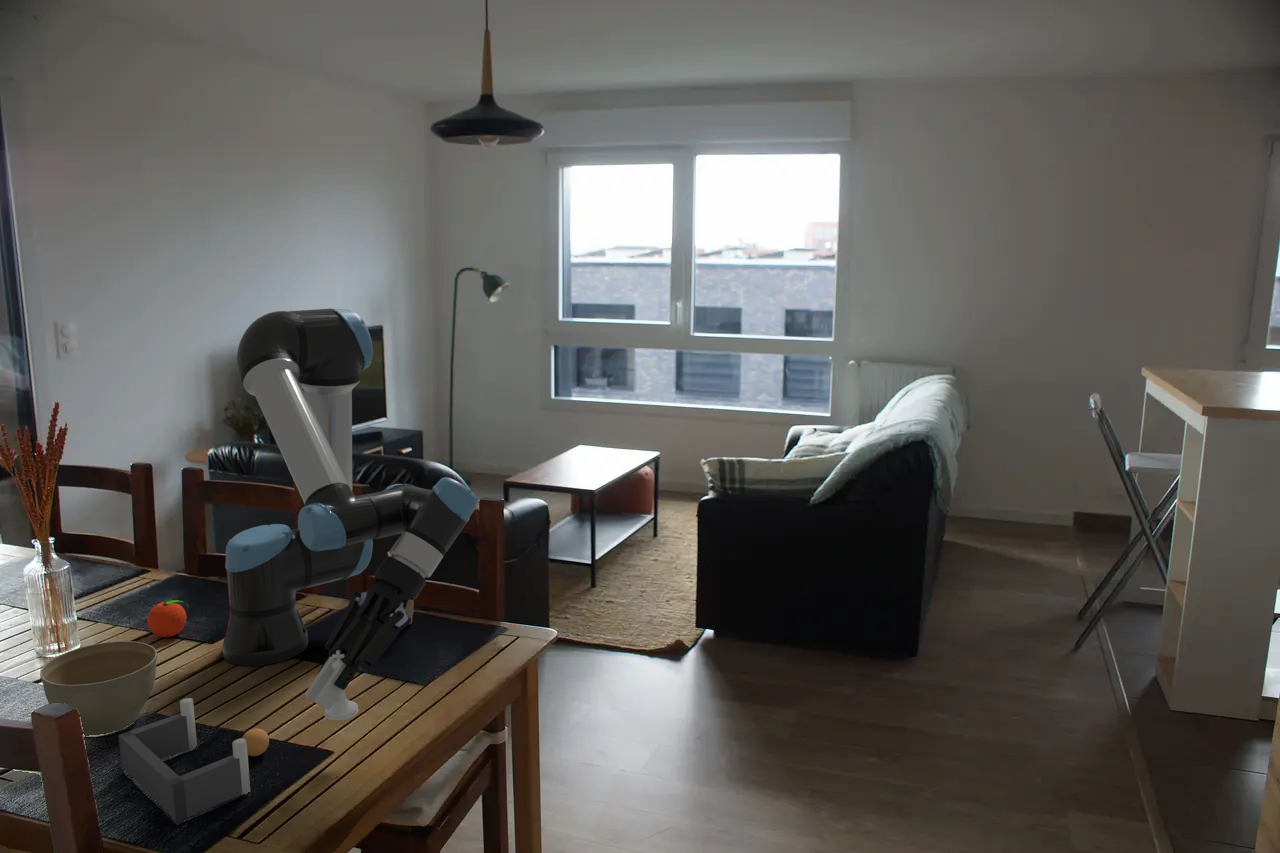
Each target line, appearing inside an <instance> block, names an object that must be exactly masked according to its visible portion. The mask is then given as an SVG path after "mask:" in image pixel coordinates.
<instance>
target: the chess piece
mask: <svg viewBox="0 0 1280 853" xmlns="http://www.w3.org/2000/svg"><path fill="white" fill-rule="evenodd" d="M332 658H337V661H334V662H333V663H332V667H333V669H334V671H335V669H336V668H337V666H338V665H339V663H340V662H341V663H343V662H342V660H340V658H344V654H340V650H337V651H336V654H333V655H332ZM343 664H344V663H343ZM345 665H346V664H345ZM358 713H359V705H358V703H356V702H355V701H353V700H349V699H347V694H346V688H345V689H344V690H342V692H341V693H340V695H339V696H338V698H337V699H336V701H335V702H334V704H333V705H332V707H331V708H330V710H327V709H325V708H324V713H323V715H324V718H325V719H328V720H329V721H344V720H348V719H351V718H353V717H355V716H356V715H357V714H358Z"/></svg>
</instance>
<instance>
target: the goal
mask: <svg viewBox="0 0 1280 853" xmlns="http://www.w3.org/2000/svg"><path fill="white" fill-rule="evenodd" d="M179 707H180V713H177V714H174V715H171V716H168V717H166V718H163V719H159V720H157V721H155V722H152V723H148V724H146V725H143V726H140V727H137V728H134V729H131V730H129V731H126V732H123V733H120V734H118V744H119V745H118V746H119V753H120V762H121V768H122V767H123V768H124V769H125V770H126V771H127V772H128V773H129V774H130V775H131V776H132V777H133V778H134V779H135V780H136V781H137V782H138V784H140V785H141V787H143V789H145V790H146V791H147V792H148V793H149V794H150V795H151V796H152V797H153V798H154V799H155V800H156V801H157V802H158V803H159V804H160V805H161V806H162V807H163V809H164V810H165V811H166V812H167V813H168V814H169V815H170V816H171V818H172V819H173V820H174V821H175V822H177V821H180V820H182V819H185V818H187V817H190V816H192V815H195V814H197V813H198V812H199V811H203V810H205V809H206V808H210V807H211V806H215V805H216V804H219V803H222V802H224V801H227V800H230V799H233V798H234V797H238V796H240V795H243V794H247V793H248V792H250V793H251V785H250V784H251V783H250V770H249V755H247V743H246V739H242V738H237V739H235V740H233V741H232V743H231V744H232V755H230V756H228V757H225V758H222V759H220V760H217V761H215V762H211V763H209V764H207V765H205V766H202V767H199V768H197V769H194V770H192V771H190V772H187V773H185V774H182V775H179V774H177V773H176V771H174V770H173V769H171V767H170V766H168V765H167V764H166V763H165V762H163V761H162V760H161V759H162V758H164V757H168V756H172V755H175V754H177V753H180V752H183V751H186V750H188V749H193V748H195V747H196V746H197V747H198V742H197V740H198V739H197V730H196V721H195V720H196V718H195V707H194V698H192V697H191V698H190V697H188V698H187V697H186V698H183V699H180V701H179Z"/></svg>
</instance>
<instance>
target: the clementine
mask: <svg viewBox="0 0 1280 853" xmlns="http://www.w3.org/2000/svg"><path fill="white" fill-rule="evenodd" d="M178 602H179V603H178ZM180 603H184V604H186V606H187V607H189V605H188V604H187V602H184V601H181V600H177V599H176V600H175V599H174V600H173V599H172V600H168V601H163V602H159V603H158V604H156V605H155V606H154V607H151V610H150V611H149V613H148V615H147V619H146V620H147V621H146V622H147V626H148V629H149V631H150V632H151V633H153V634H154V635H155V636H157V637H161V638H169V637H173V636H175V635H178V634H179V633H180V632H182V630H183V629H184V627H185V625H186V623H187V618H188V616H187V613H186V610H185V608H184V607H183V606H182V605H181V604H180Z"/></svg>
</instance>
